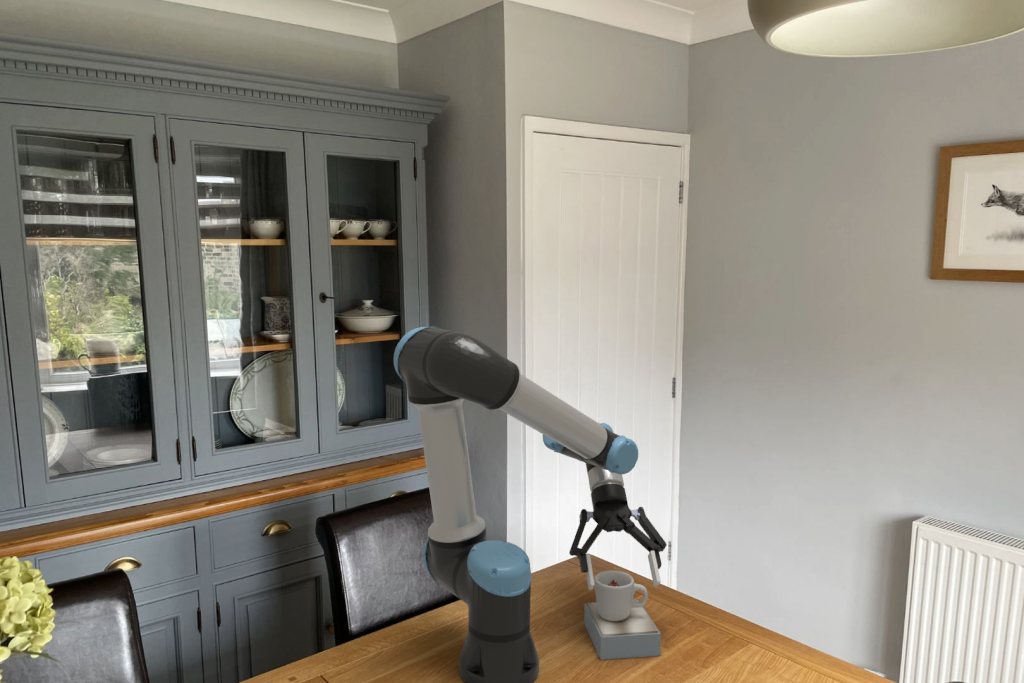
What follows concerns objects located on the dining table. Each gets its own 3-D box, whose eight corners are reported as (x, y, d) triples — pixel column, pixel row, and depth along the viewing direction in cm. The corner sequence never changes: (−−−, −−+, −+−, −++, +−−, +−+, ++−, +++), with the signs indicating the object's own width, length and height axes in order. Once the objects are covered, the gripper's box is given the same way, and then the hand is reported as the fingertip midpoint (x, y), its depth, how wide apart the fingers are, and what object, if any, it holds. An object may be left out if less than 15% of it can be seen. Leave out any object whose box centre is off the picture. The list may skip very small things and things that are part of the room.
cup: (645, 608, 155) (646, 571, 154) (648, 627, 147) (649, 588, 146) (593, 605, 156) (594, 569, 155) (593, 624, 148) (594, 586, 147)
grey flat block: (600, 659, 145) (601, 635, 144) (584, 624, 158) (584, 601, 158) (660, 655, 146) (660, 631, 145) (638, 620, 160) (639, 598, 159)
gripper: (658, 495, 167) (679, 589, 154) (549, 499, 164) (561, 595, 151) (666, 479, 161) (689, 575, 148) (553, 483, 158) (566, 582, 145)
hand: (624, 586), depth 150 cm, fingers open, 13 cm apart
